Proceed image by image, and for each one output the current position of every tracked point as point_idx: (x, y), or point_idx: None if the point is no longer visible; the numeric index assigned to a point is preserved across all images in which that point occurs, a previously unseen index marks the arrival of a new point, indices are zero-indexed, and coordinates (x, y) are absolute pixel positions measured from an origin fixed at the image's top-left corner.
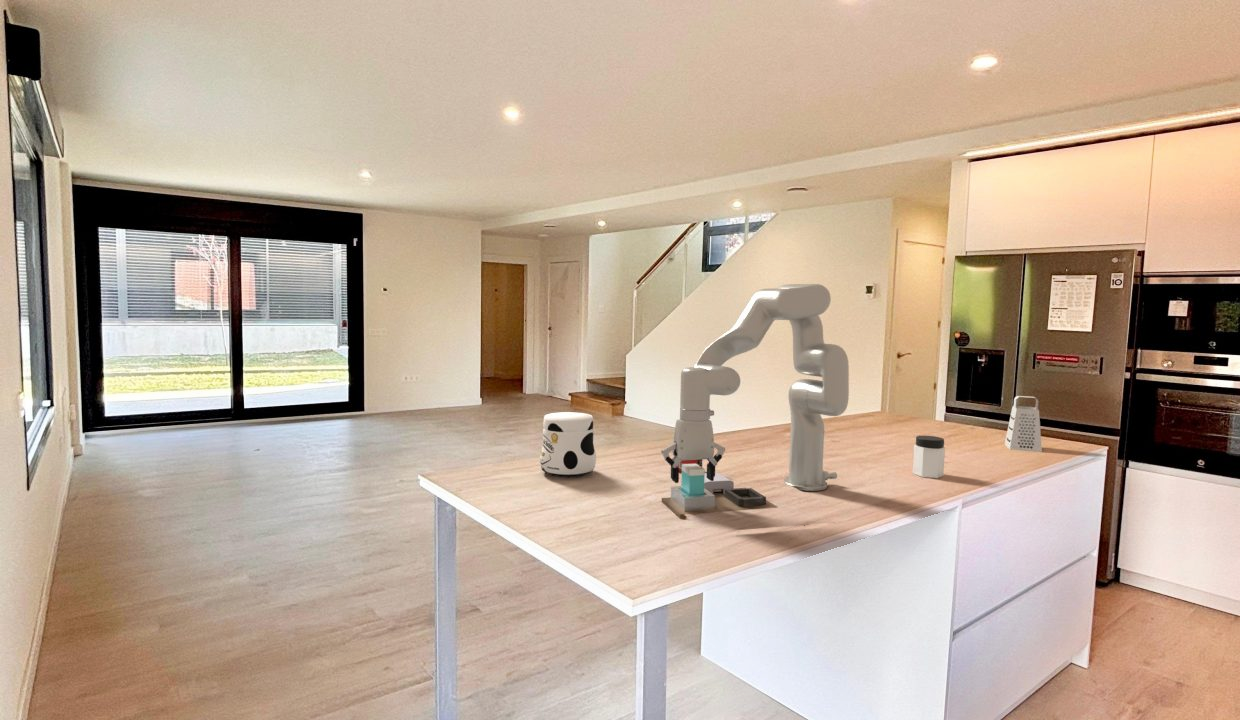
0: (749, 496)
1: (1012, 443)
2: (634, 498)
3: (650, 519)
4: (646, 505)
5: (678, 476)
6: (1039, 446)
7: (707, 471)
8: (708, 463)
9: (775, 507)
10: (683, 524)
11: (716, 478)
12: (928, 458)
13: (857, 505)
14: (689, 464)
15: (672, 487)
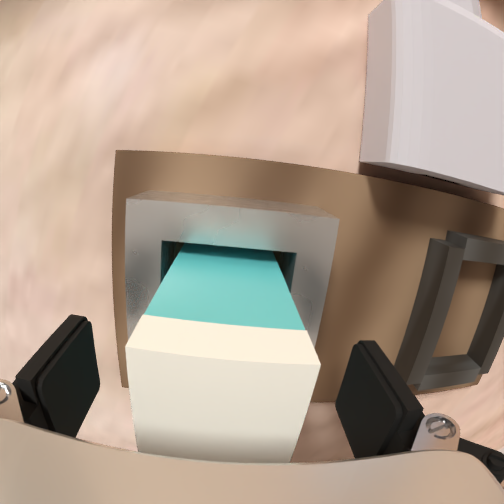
0: (496, 273)
1: None
2: (39, 78)
3: (32, 346)
4: (45, 188)
5: (84, 412)
6: None
7: (368, 384)
8: (408, 419)
9: (471, 385)
10: (123, 419)
11: (487, 131)
12: None
13: None
14: (216, 381)
15: (128, 218)
